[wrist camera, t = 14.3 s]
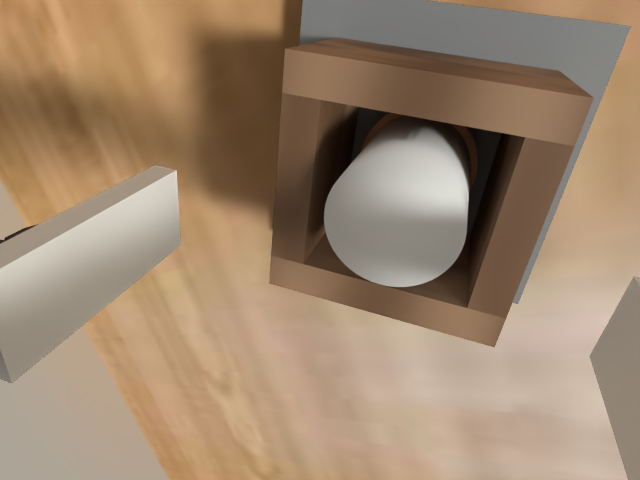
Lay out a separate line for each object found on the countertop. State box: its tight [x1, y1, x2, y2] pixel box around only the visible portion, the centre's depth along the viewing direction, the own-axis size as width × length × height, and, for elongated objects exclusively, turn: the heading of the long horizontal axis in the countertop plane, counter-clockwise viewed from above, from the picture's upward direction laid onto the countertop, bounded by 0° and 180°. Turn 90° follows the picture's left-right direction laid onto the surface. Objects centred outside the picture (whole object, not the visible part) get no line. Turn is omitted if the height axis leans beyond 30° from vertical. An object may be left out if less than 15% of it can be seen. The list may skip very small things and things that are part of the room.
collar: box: [269, 38, 594, 347], centre depth 20 cm, size 10×10×7 cm
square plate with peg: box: [299, 0, 631, 304], centre depth 20 cm, size 14×14×10 cm
